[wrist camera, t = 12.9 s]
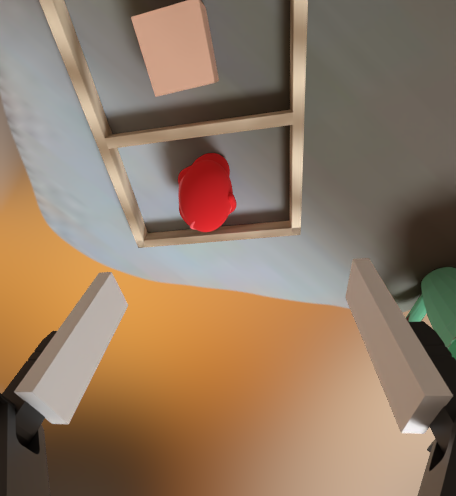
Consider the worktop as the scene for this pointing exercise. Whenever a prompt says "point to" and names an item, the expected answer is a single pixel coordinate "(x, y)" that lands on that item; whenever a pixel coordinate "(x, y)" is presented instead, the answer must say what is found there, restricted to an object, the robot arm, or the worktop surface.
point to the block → (177, 47)
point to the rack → (188, 133)
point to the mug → (438, 305)
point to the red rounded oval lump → (206, 193)
